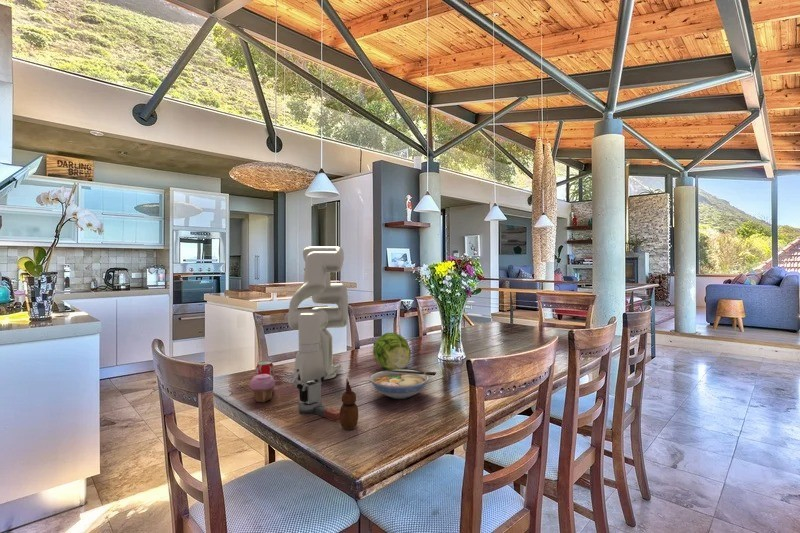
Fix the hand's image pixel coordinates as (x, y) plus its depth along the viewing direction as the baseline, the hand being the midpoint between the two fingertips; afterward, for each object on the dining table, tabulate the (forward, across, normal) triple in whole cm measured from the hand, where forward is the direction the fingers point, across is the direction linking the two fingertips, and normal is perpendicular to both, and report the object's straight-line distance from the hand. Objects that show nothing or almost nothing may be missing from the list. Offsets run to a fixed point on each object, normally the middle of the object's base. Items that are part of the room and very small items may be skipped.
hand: (310, 398), depth 144 cm
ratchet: (+4, 0, +6) cm, 7 cm away
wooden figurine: (+4, +2, +22) cm, 23 cm away
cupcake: (+4, +5, -22) cm, 23 cm away
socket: (+1, 0, 0) cm, 1 cm away
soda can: (+4, -1, -30) cm, 30 cm away
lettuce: (+4, -59, -12) cm, 60 cm away
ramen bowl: (+4, -31, +15) cm, 35 cm away
